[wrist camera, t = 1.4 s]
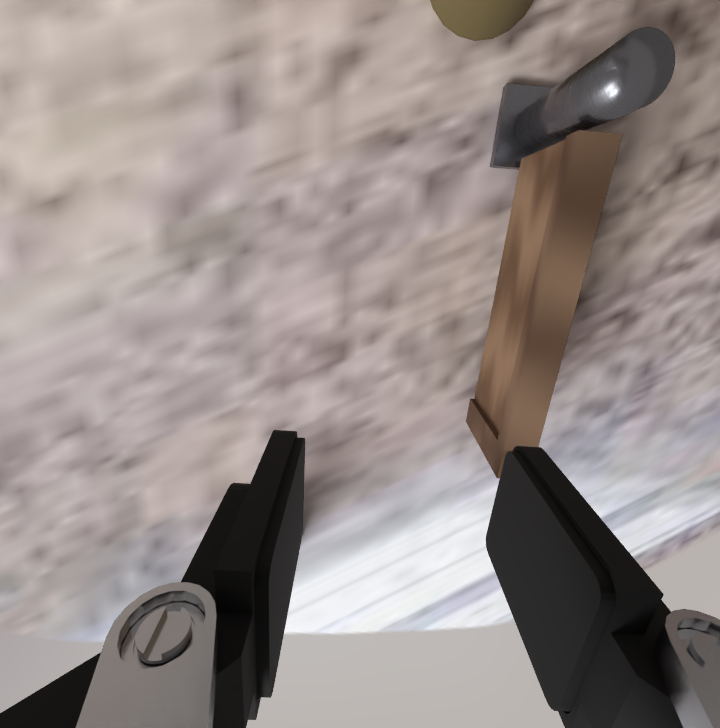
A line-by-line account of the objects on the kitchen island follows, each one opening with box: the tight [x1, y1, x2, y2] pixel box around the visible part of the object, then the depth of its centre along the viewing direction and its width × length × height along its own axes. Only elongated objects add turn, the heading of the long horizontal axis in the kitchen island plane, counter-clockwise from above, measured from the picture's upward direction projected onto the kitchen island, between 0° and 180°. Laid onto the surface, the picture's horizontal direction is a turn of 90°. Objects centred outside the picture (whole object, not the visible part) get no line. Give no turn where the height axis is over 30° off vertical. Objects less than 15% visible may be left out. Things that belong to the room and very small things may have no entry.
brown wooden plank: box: [466, 130, 623, 478], centre depth 21 cm, size 17×2×6 cm, turn 176°
